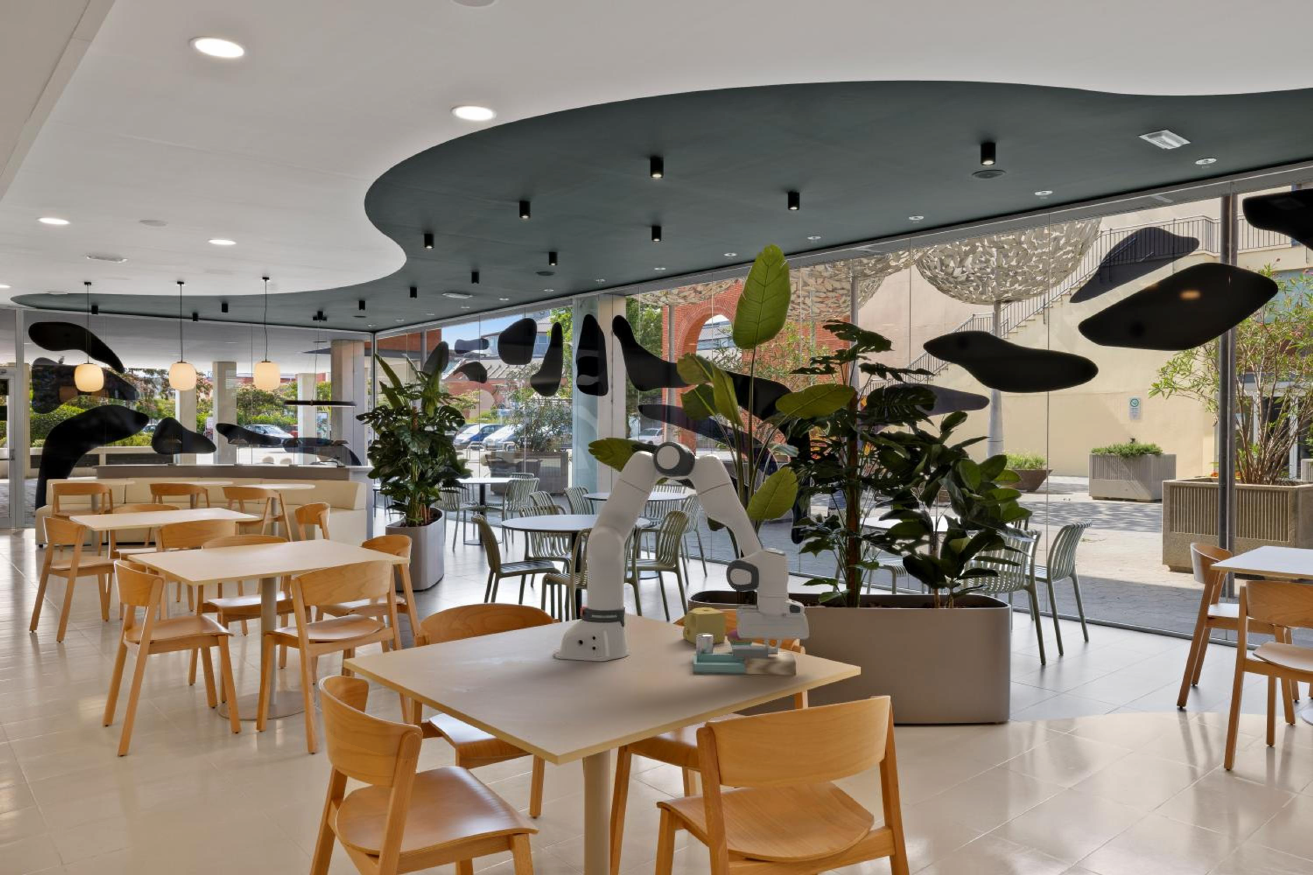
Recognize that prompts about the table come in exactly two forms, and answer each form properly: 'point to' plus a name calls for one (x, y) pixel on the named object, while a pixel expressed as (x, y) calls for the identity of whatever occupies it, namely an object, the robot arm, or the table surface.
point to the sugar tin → (704, 643)
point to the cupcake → (738, 638)
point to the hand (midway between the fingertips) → (772, 653)
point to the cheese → (705, 624)
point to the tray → (718, 664)
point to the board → (772, 664)
